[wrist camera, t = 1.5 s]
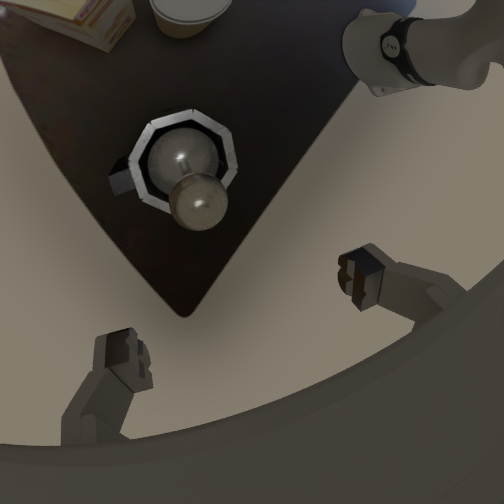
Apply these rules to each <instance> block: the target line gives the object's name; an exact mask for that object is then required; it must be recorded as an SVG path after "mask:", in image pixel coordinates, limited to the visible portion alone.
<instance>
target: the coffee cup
mask: <svg viewBox="0 0 504 504" xmlns="http://www.w3.org/2000/svg"><path fill="white" fill-rule="evenodd" d="M149 1H150V5H151V7H152V9H153V12H154V16H155V19H156V22H157V25H158V27H159V29H160V30H161V31H162V32H163V33H164V34H166V35H167V36H170V37H173V38H180V39H181V38H188V37H192V36H194V35H196V34H198V33H199V32H201V31H202V30H203V29H204V28H206V27H207V26H208V25H209V24H210V23H211V22H212V21H213V20H214V19H216V18H217V17H218V16H220V15H221V14H222V13H223V12H225V11H226V9H227V8H228V7H229V5H230V4H231V2H232V0H149Z"/></svg>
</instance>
